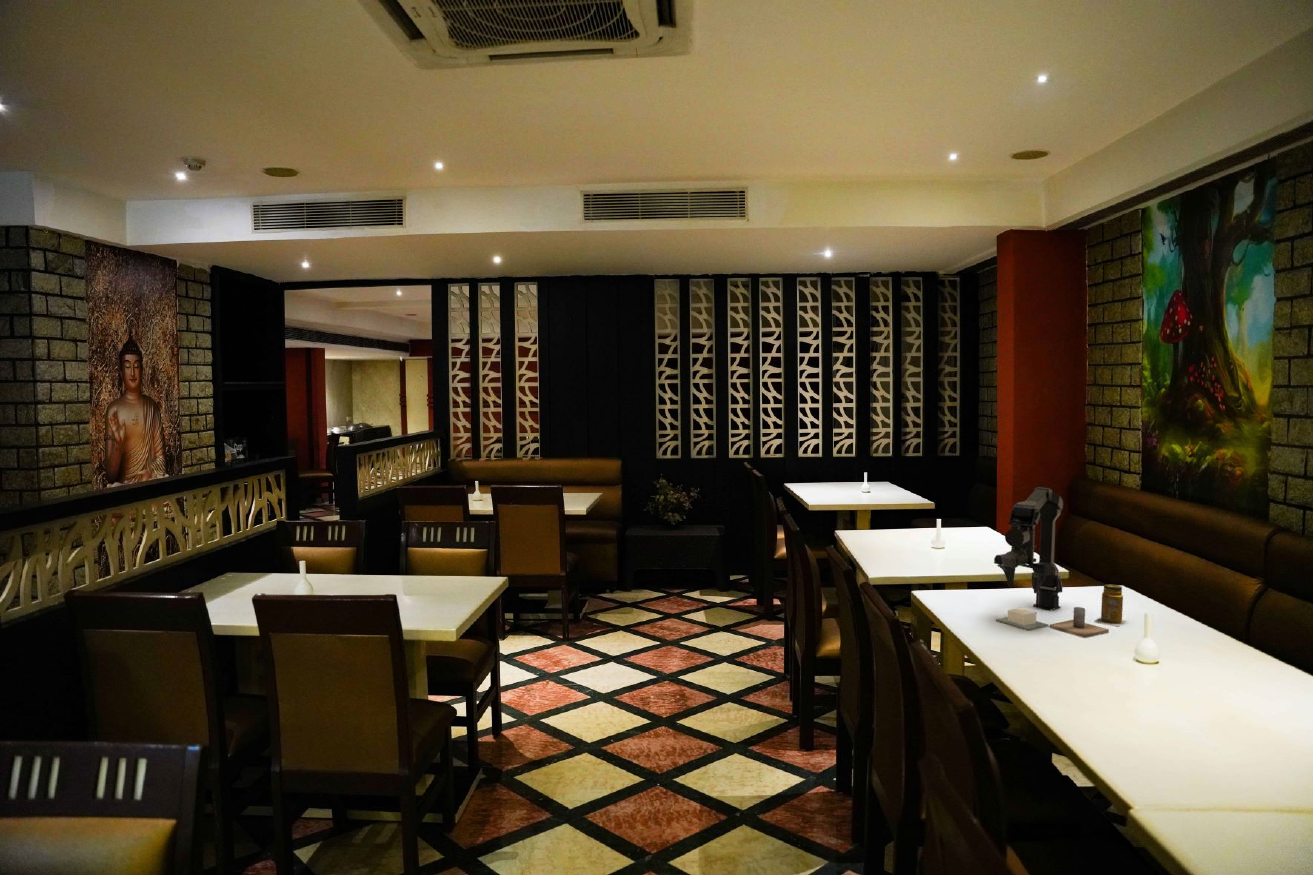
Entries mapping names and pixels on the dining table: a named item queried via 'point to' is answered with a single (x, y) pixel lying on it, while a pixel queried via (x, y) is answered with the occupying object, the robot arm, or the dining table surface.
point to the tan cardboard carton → (1022, 616)
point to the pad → (1026, 627)
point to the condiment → (1111, 605)
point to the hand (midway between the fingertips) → (1022, 589)
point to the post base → (1078, 631)
